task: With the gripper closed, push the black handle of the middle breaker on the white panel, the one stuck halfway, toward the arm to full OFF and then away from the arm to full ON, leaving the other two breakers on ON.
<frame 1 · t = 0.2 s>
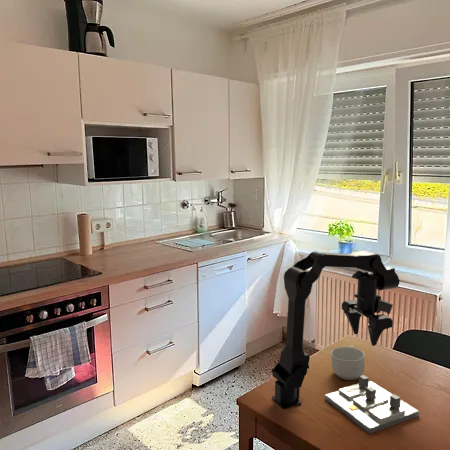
hand: (364, 339, 132), 14 cm above the table, tool pointing down, fingers open, 9 cm apart
tripped handle: (370, 393, 120), point 4 cm above the table, slide at 0.0 cm
left handle: (363, 381, 127), point 4 cm above the table, slide at 3.0 cm
right handle: (395, 401, 116), point 4 cm above the table, slide at 3.0 cm
teacup: (348, 374, 140), on the table
breaker panel: (370, 407, 121), on the table
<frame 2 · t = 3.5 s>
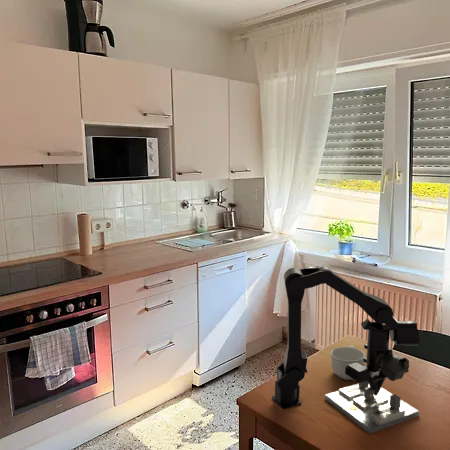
hand: (375, 394, 121), 3 cm above the table, tool pointing down, fingers closed
tripped handle: (369, 394, 120), point 4 cm above the table, slide at -0.6 cm, touching gripper
everything else where it was.
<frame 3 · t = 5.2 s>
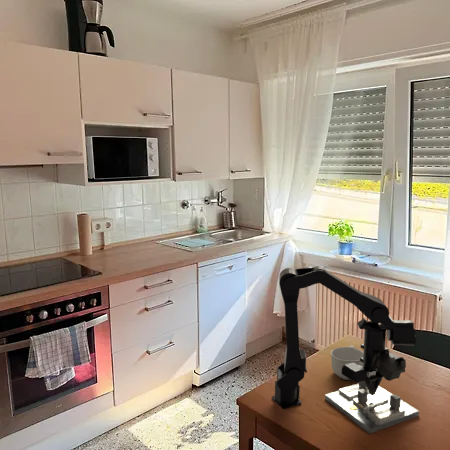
hand: (372, 394, 120), 4 cm above the table, tool pointing down, fingers closed
tripped handle: (362, 396, 119), point 4 cm above the table, slide at -3.1 cm
everything else where it was.
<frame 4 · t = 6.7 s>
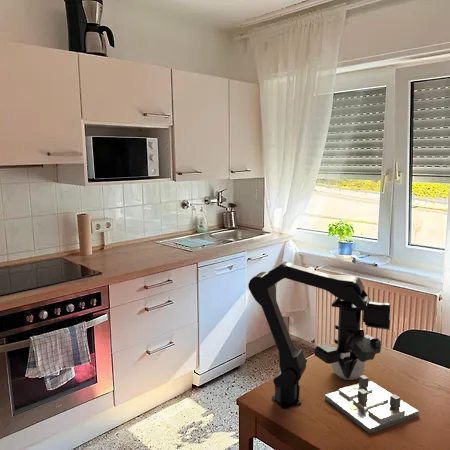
hand: (346, 377, 115), 11 cm above the table, tool pointing down, fingers closed
nothing on the table moved.
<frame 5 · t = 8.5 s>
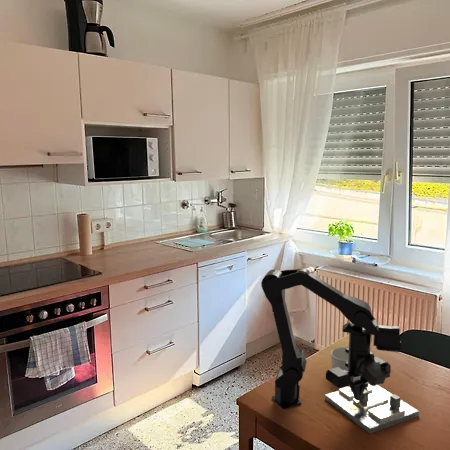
hand: (357, 400, 118), 4 cm above the table, tool pointing down, fingers closed
tripped handle: (363, 396, 119), point 4 cm above the table, slide at -2.8 cm, touching gripper
everything else where it was.
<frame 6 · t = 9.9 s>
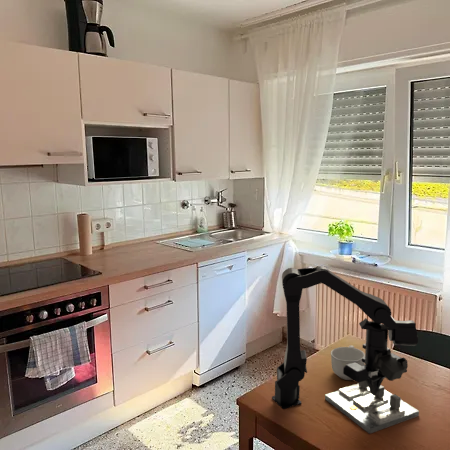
hand: (373, 394, 120), 4 cm above the table, tool pointing down, fingers closed
tripped handle: (379, 391, 121), point 4 cm above the table, slide at 3.2 cm, touching gripper
everything else where it was.
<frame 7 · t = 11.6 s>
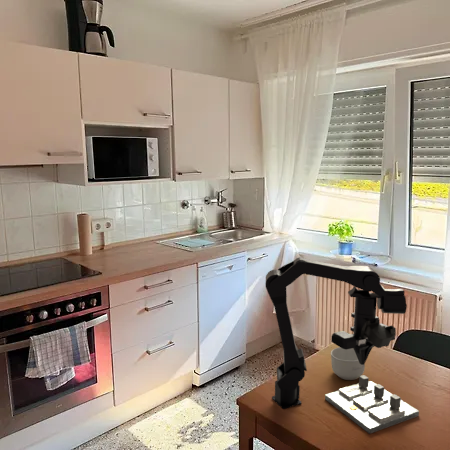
hand: (362, 364, 120), 13 cm above the table, tool pointing down, fingers closed
tripped handle: (378, 391, 121), point 4 cm above the table, slide at 3.1 cm
everything else where it was.
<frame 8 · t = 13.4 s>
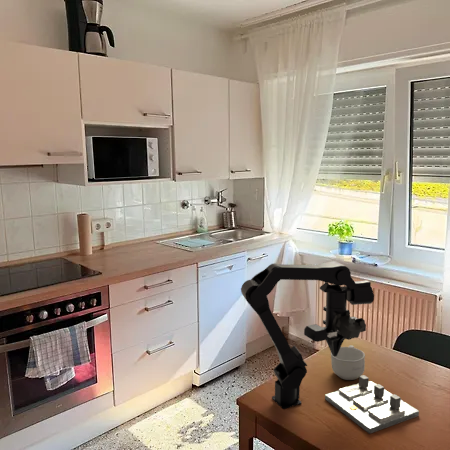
hand: (334, 355, 124), 13 cm above the table, tool pointing down, fingers closed
nothing on the table moved.
at the end: tripped handle slide at 3.1 cm; left handle slide at 3.0 cm; right handle slide at 3.0 cm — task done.
